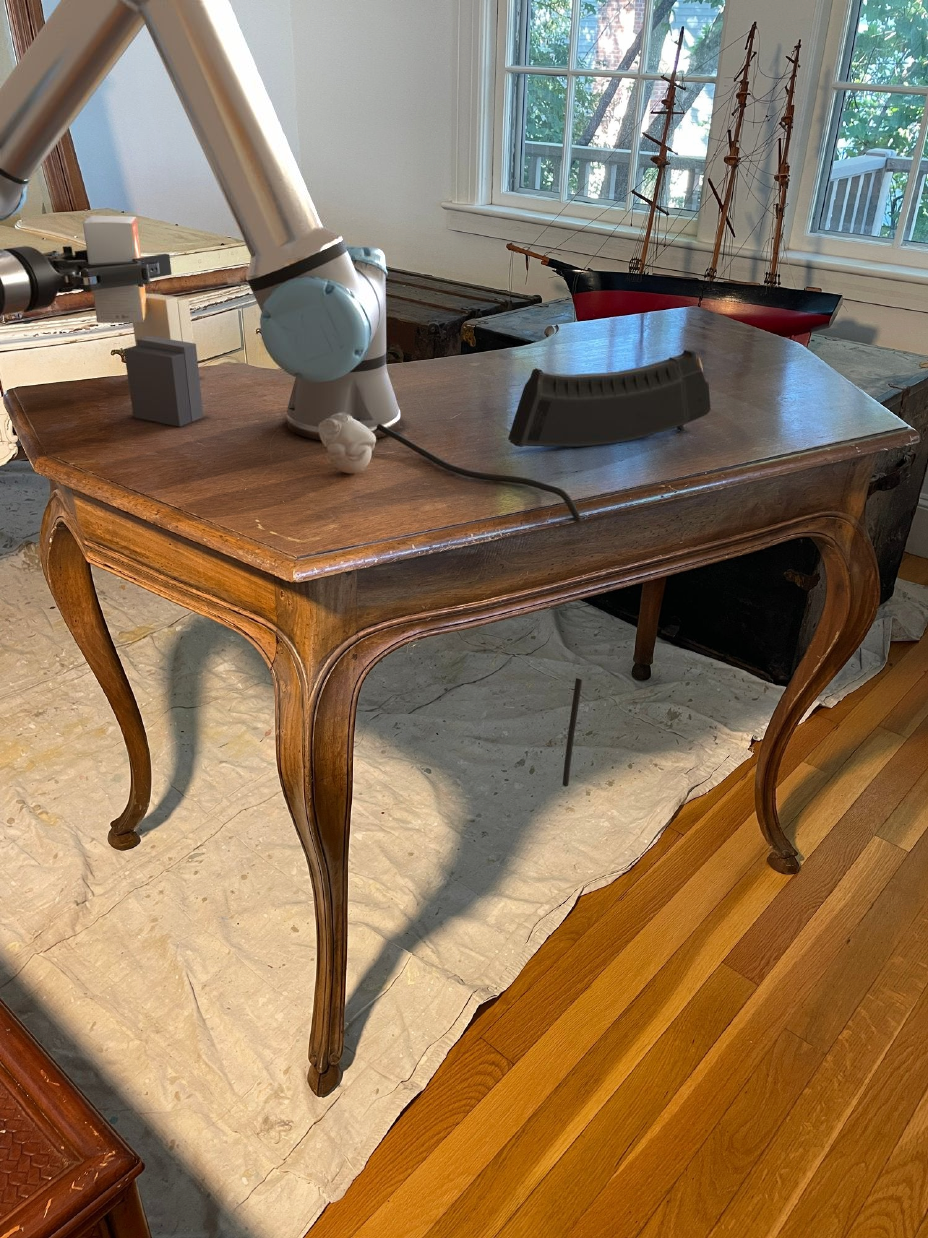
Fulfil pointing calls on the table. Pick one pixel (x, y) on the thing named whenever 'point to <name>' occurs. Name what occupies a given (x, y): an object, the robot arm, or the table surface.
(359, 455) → the plaster face bust
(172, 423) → the grey books
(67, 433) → the table surface
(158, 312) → the beige rectangular block
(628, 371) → the magazine
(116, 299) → the small box
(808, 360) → the table surface
